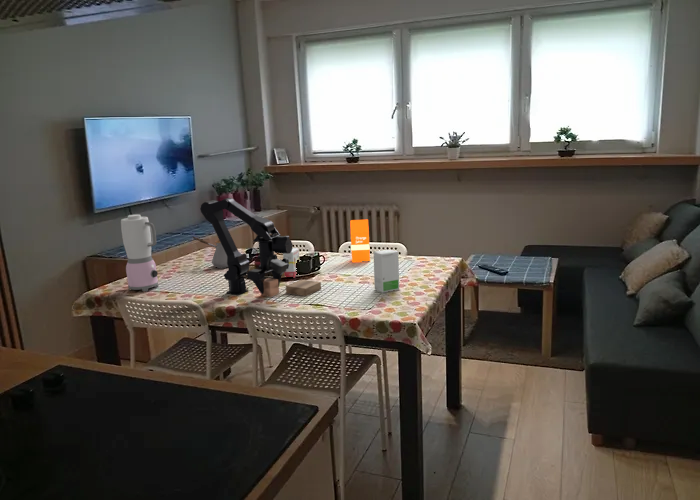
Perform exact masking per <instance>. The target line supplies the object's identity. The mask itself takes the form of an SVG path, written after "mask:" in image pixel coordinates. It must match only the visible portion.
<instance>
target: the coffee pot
mask: <svg viewBox="0 0 700 500" xmlns="http://www.w3.org/2000/svg"><path fill="white" fill-rule="evenodd" d="M194 240H196V241H199V242H200V243H203V244H206V245H209V246H211V247H213V248H215V249H214V250H215V251H214V253H213V255H212V256H213V257H212V259H211V260H212V261H211V264H212V265H213V266H214V267H217V268H216V269H227V268H226V267H228V265H227V255H226V253H225V251H224V249H223V246H222V244H221V242H220V240H219V239H218V240H215V241H214V243H215V244H216V245H215V244H212V243H209V242H208V241H206V240H204V239H200V238H198V237H195V236H192V237H191V241H194Z"/></svg>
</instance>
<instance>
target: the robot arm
mask: <svg viewBox="0 0 700 500" xmlns="http://www.w3.org/2000/svg"><path fill="white" fill-rule="evenodd" d="M199 210H200V213H201V214H202V216H203V218H205V220H206V221H207V222H209V223H210V224H211V225H212V227H213V230H214V232H215V234H216V236H217V238H218V240H220V242H221V244H222V246H223V249H224V251H225V253H226V255H227V265H228V269H227V270H226V272H225V273H224V274H223V278H224V279H225V280H226V281H228V291H226V294H230V293H231V295H241V294H243V293H246V292H248V291H249V289H248V288H247V285H246V284H247V283H246V280H245V276H247V279H249V280H252V282H253V283H254V285H255V286H256V288H257V290H258V291H259V293H260V295H261V294H264V283H263V282H264V280H265V279H267V278H266V274H268V273H270V272H271V275H272V278H273V279H278V285H279V286H280V284H281V280H282V276H283V274H284V272H285V271H286V269H288V267H289V260H288V259H287V258H283V257H282V259H281V258H279V259H278V255H277V254H283V253H286V254H290V253H291V251H292V248H294V246H293V242H292V240H291V238H290V236H289V235H281V234H280V233H279V231H278V230H277V229H276V227H275V224H274V222H273V221H272V220H270V219H268V218H265V217H262V216H258V215H256V214H255V213H253V212H252V211H250V210H249V209H247V208H246V207H244V205H241V204H240V203H239V202H237V201H236V200H235V199H234V198H232V197H228V198H224V199H222V200H216V199H214V200H207V201H205V202H203V203H202V204H201V205H200V207H199ZM223 210H226V211H228V212H229V213H231V214H232V215H234V216H235V217H236V218H238V219H240V220H241V221H243V222H244V223H245V224H247V225H248V227H250V229H251V231H252V232H253V233H254V234H255V235H256V237H255V238H254V239H253V240H252V241H253V242H254V243H258V251H259V255H257V256H256V257H257V259H259V262H260V263H259V264H260V265H258V266H257V267H258V269H257V268H254V269H253V268H252V269H250V267H251V266H250V260H249V259H248V257H247V254H246V252H245V253H241V252H240V251H239V249H238V247H237V246H236V245H237V244H236V243H235V242H234V239H233V237H232V234H231V233H230V230H229V228H228V226H227V224H226V222H225V220H224V211H223Z"/></svg>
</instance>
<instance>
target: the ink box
mask: <svg viewBox="0 0 700 500" xmlns="http://www.w3.org/2000/svg"><path fill="white" fill-rule="evenodd" d="M283 258H287V259H288V260H289V267H288V269H286V271H285V272H284V273H283V274H284V277H285V276H286V277H293V278H292V279H295V278H296V277H297V276H296V274H297V272H296V271H297V270H296V269H297V268H296V263H297V260H298V259H299V260H300V249H299V248H297V247H292V251H291V253H290V254H286V253H282V259H283ZM295 276H296V277H295Z"/></svg>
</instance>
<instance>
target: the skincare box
mask: <svg viewBox="0 0 700 500" xmlns="http://www.w3.org/2000/svg"><path fill="white" fill-rule="evenodd" d="M372 253H373V275H374V276H373V277H374V290H375V291H377V292H379V291H380V292H379V293H382V294H384V293H389V292H388V291H390V292H394V291H393V290H395V291H399V290H400V271H399V270H400V267H399V263H400V262H399V261H400V260H399V251H397V250H393V249H385V250H375V251H373V252H372ZM398 289H399V290H398Z"/></svg>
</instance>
